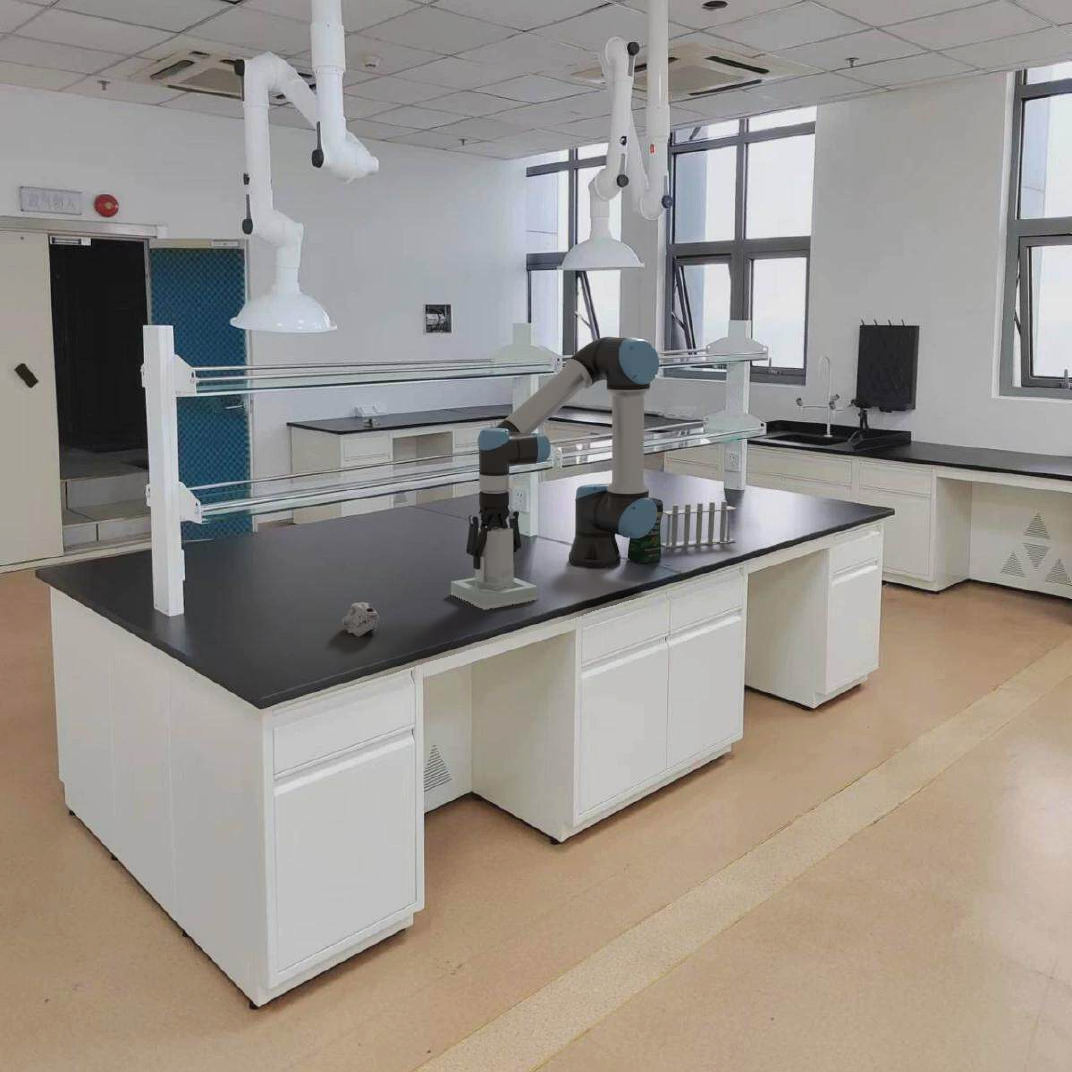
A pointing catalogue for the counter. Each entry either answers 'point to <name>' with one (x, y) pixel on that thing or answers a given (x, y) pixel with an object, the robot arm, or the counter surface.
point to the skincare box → (497, 560)
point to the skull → (360, 619)
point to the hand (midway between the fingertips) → (494, 578)
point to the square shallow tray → (493, 593)
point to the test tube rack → (698, 525)
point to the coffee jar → (648, 541)
